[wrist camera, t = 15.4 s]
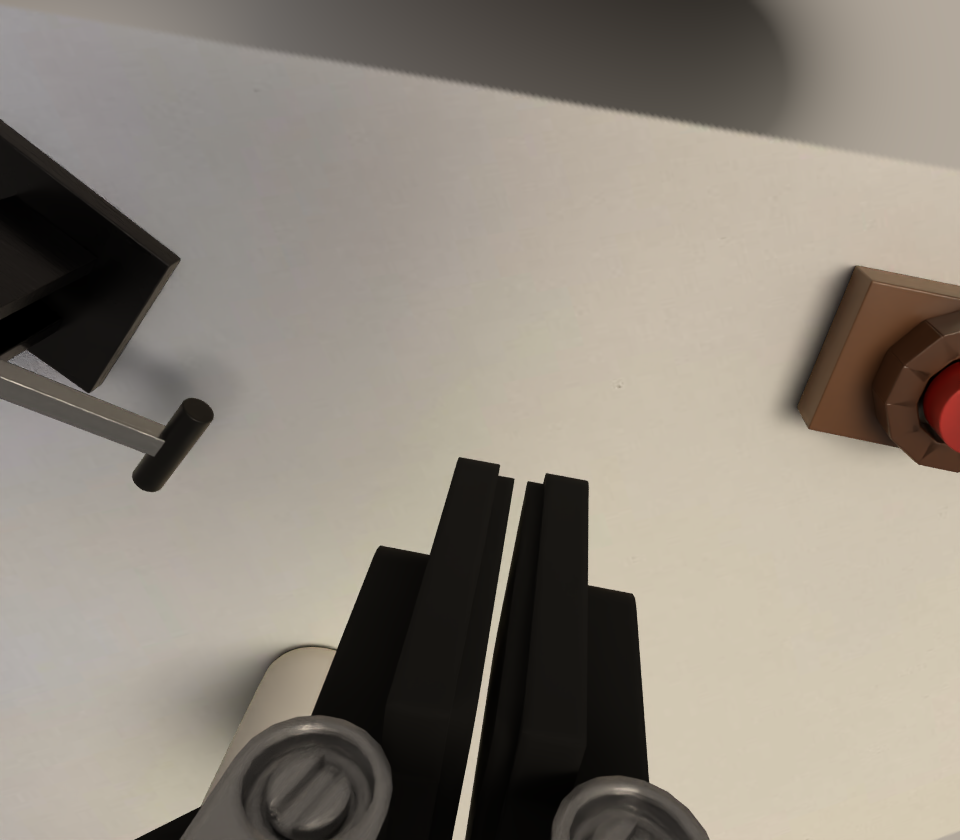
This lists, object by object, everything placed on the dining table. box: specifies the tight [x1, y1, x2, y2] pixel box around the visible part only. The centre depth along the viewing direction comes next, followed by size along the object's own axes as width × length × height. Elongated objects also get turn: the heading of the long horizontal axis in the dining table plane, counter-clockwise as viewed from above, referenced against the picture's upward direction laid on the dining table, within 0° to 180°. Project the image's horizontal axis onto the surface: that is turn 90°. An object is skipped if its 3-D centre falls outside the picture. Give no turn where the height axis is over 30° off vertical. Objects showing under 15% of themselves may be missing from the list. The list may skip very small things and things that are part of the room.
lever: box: [0, 359, 214, 492], centre depth 31 cm, size 13×5×2 cm, turn 50°
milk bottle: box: [201, 647, 336, 806], centre depth 40 cm, size 8×8×20 cm
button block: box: [797, 266, 960, 473], centre depth 33 cm, size 10×7×4 cm
